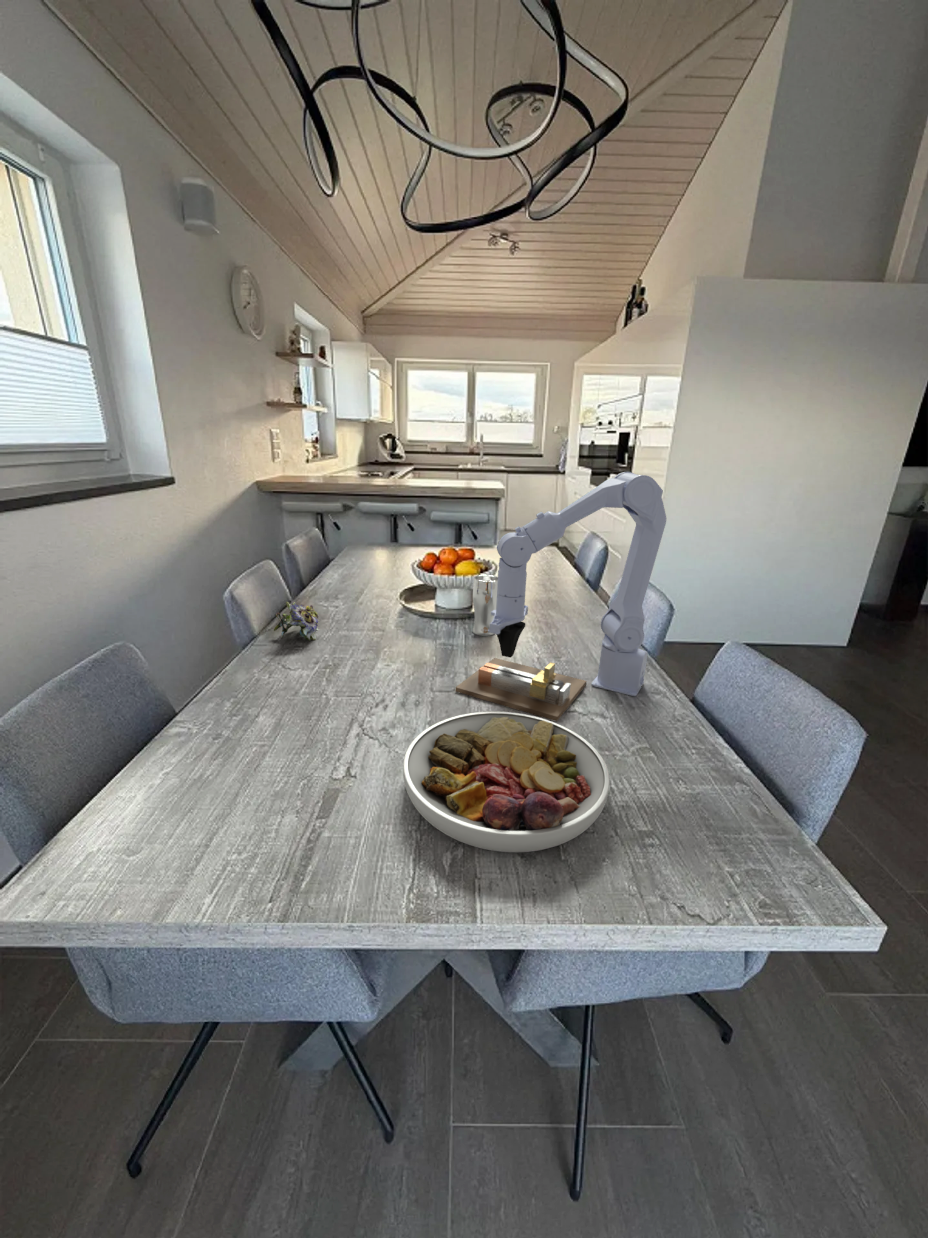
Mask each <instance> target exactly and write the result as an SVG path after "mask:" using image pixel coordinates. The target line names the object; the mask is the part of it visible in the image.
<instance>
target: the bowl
mask: <svg viewBox="0 0 928 1238" xmlns="http://www.w3.org/2000/svg"><path fill="white" fill-rule="evenodd" d="M402 763H403V764H402V772H403V773H402V775H403V783H404V787H405V791H406V792H407V795H408V797H409V799H410V801H411V803H412V805H413V806H414V808H415V809H416V810H417V812H418V813H419V814H420V816H422V818H424V819H425V820H426V822H428V823H429V824H430V825H431V826H433V827H434V828H436V829H437V830H438V831H440V832H441V833H443V834H444V835H445V836H448V837H449V838H452V839H453V840H454V839H455V841H458V842H461V843H463V844H466V845H469V846H472V847H475V848H478V849H482V850H483V849H484V850H486V851H487V850H489V851H493V852H494V851H495V852H500V853H501V852H503V853H527V852H528V853H530V852H537V851H538V852H539V851H542V850H546V849H550V848H553V847H557V846H560V845H563V844H565V843H567V842H569V841H571V840H573V839H575V838H576V837H579V836H580V835H581V834H582V833H584V832H585V831H587V830H588V829H589V828H590V827H591V826H592V825H593V824H594V823H595V822H596V821H597V819H598V818H599V816H600V815H601V813H602V811H603V810H604V807H605V805H606V803H607V800H608V798H609V797H608V796H609V791H610V784H611V783H610V782H611V781H610V780H611V777H610V772H609V769H608V766H607V764H606V762H605V760H604V758H603V757H602V755H601V754H600V753H599V751H598V750H597V749H596V748H595V747H594V746H593V745H592V744H591V743H590V742H589V741H588V740H586V739H585V738H584V737H582V736H581V735H580V734H578V733H576V732H575V731H573V730H571V729H569V727H566V726H563V725H561V724H559V723H557V722H555V721H552V720H551V721H550V719H547V718H543V717H540V716H536V715H532V714H525V713H520V712H519V713H518V712H510V711H509V712H508V711H479V712H477V711H476V712H470V713H463V714H459V715H456V716H452V717H448V718H445V719H443V720H440V721H438V722H436V723H434V724H433V725H430V726H429V727H427V728H425V729H424V730H423V731H421V732H420V733H419V734H418V735H417V736H416V737H415V738H414V739H413V740H412V741H411V742H410V744H409V746H408V747H407V749H406V752H405V754H404V757H403V762H402Z"/></svg>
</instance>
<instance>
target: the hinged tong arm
mask: <svg viewBox="0 0 928 1238" xmlns="http://www.w3.org/2000/svg"><path fill="white" fill-rule="evenodd" d="M483 666H484V667H487V668H491V669H494V670H498V671H502V672H505V673H509V674H513V675H517V676H521V677H524V678H528V679H533V678H534V677H535V676H536V675H534V674H530V673H526V672H522V671H518V670H514V669H510V668H506V667H502V666H499V665H495V664H491V663H488V662H486V663H484V665H483ZM549 684H551V685H555V686H559V687H560V688H559V693H560V690H561V689H562V688H563V685H564V682H563V681H561V680H552V681H551V682H550V683H549ZM558 699H559V697H558Z"/></svg>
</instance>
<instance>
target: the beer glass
mask: <svg viewBox="0 0 928 1238" xmlns="http://www.w3.org/2000/svg"><path fill="white" fill-rule="evenodd" d="M497 582H498V576H496V575H491V574H480V575H475V576H474V577H473V587H472V604H473V605H472V606H473V610H474V623H473V628H472V632H473V634H475V635H476V636H480V637H482V636H483V637H489V636H494V635H495V634H494V633H490V632H489V627H490V623H491V622H492V621H493V618H494V616H493V615H491V611H493V610H496V603H497Z"/></svg>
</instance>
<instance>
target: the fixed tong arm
mask: <svg viewBox="0 0 928 1238" xmlns="http://www.w3.org/2000/svg"><path fill="white" fill-rule="evenodd" d="M483 666H484V665H483ZM483 666H481V667H480V668H479V669H478V670H479V675H478V683H479V684H483V685H487V686H490V687H494V688H497V689H501V690H505V691H508V692H512V693H515V694H519V695H522V696H526V697H530V698H533V699H537V700H540V701H544V702H547V703H551V704H556V703H557V702H558V697H559V702H558V706H563V705H564V704H565V702H566V701H567V700H568V699H569V695H570V687H571V683H566V684H565V685H564V686H563V688H562V689H561V690H560V693H559V688H560V687H559V686H555V685H551V684H548V686H547V687H546V692H545V699H544V700H542V699H539V698H535V697H532V696H529V695H530V684H531V683H532V679H528V678H524V677H521V676H517V675H513V674H509V673H505V672H502V671H498V670H494V669H491V668H487V667H483Z"/></svg>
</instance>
